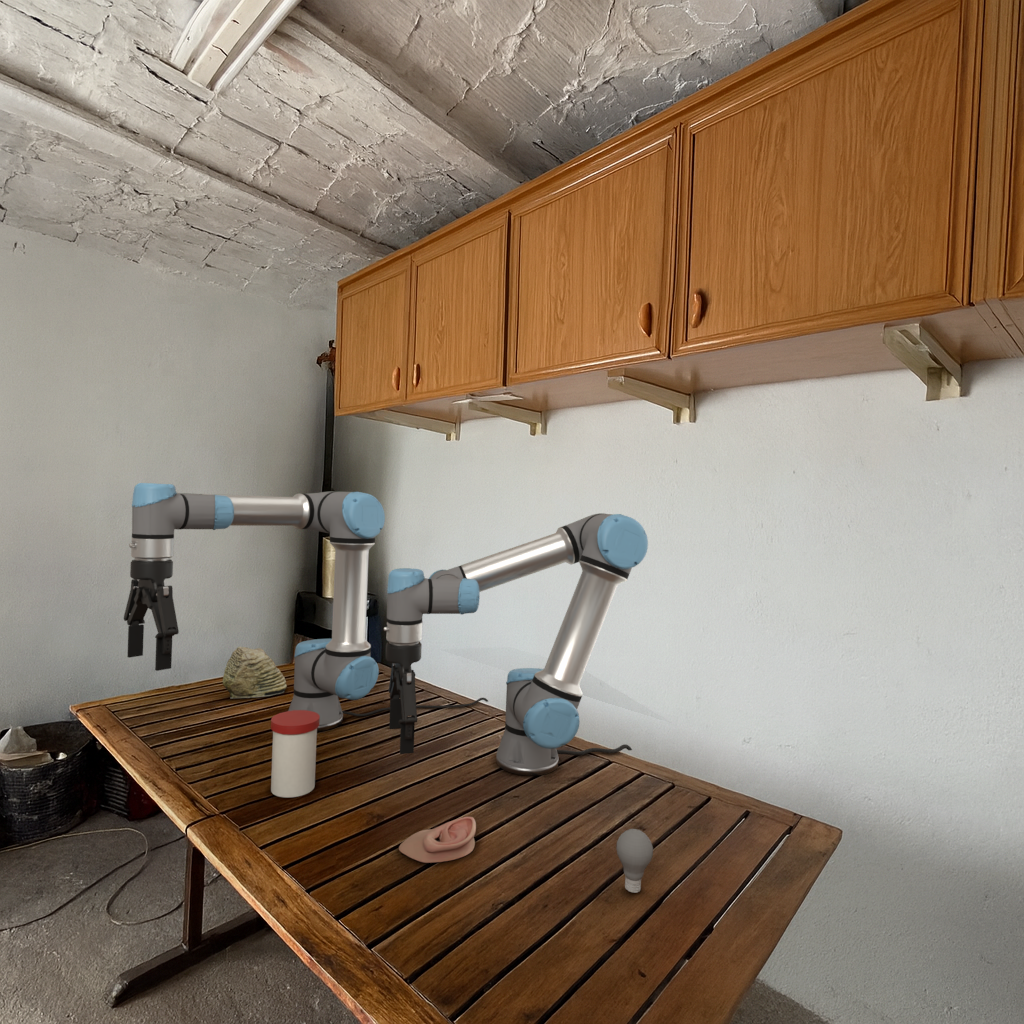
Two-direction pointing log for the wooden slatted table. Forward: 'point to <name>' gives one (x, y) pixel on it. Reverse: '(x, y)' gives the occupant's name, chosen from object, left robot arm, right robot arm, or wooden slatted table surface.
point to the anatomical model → (441, 842)
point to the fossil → (252, 674)
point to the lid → (295, 722)
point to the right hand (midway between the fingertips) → (400, 740)
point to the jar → (293, 764)
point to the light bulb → (634, 857)
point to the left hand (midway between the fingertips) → (148, 662)
